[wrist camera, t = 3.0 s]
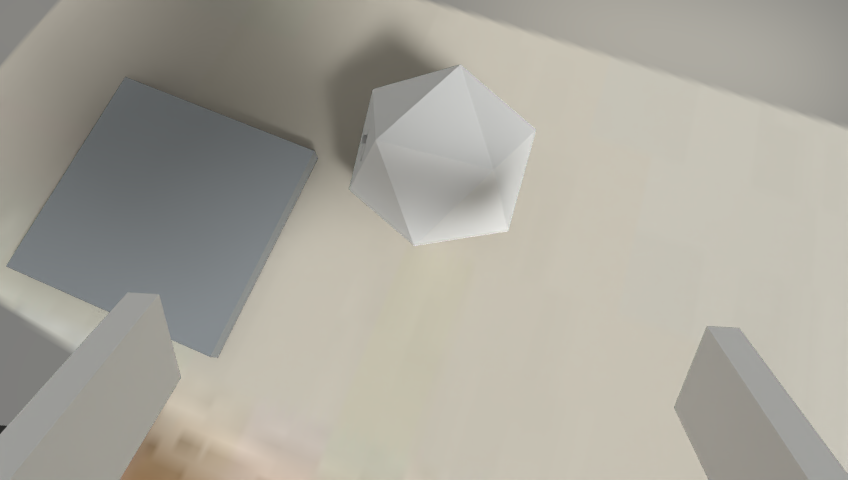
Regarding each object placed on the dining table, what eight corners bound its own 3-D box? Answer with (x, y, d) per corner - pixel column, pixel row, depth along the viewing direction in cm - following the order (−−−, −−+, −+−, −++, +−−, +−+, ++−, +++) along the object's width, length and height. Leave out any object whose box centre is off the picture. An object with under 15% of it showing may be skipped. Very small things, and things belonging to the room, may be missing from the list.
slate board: (317, 158, 30) (314, 150, 29) (217, 357, 27) (210, 356, 26) (134, 86, 31) (125, 76, 30) (20, 270, 28) (6, 266, 27)
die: (446, 94, 32) (328, 36, 24) (580, 113, 27) (488, 46, 19) (412, 225, 32) (289, 210, 25) (536, 267, 28) (431, 264, 20)
